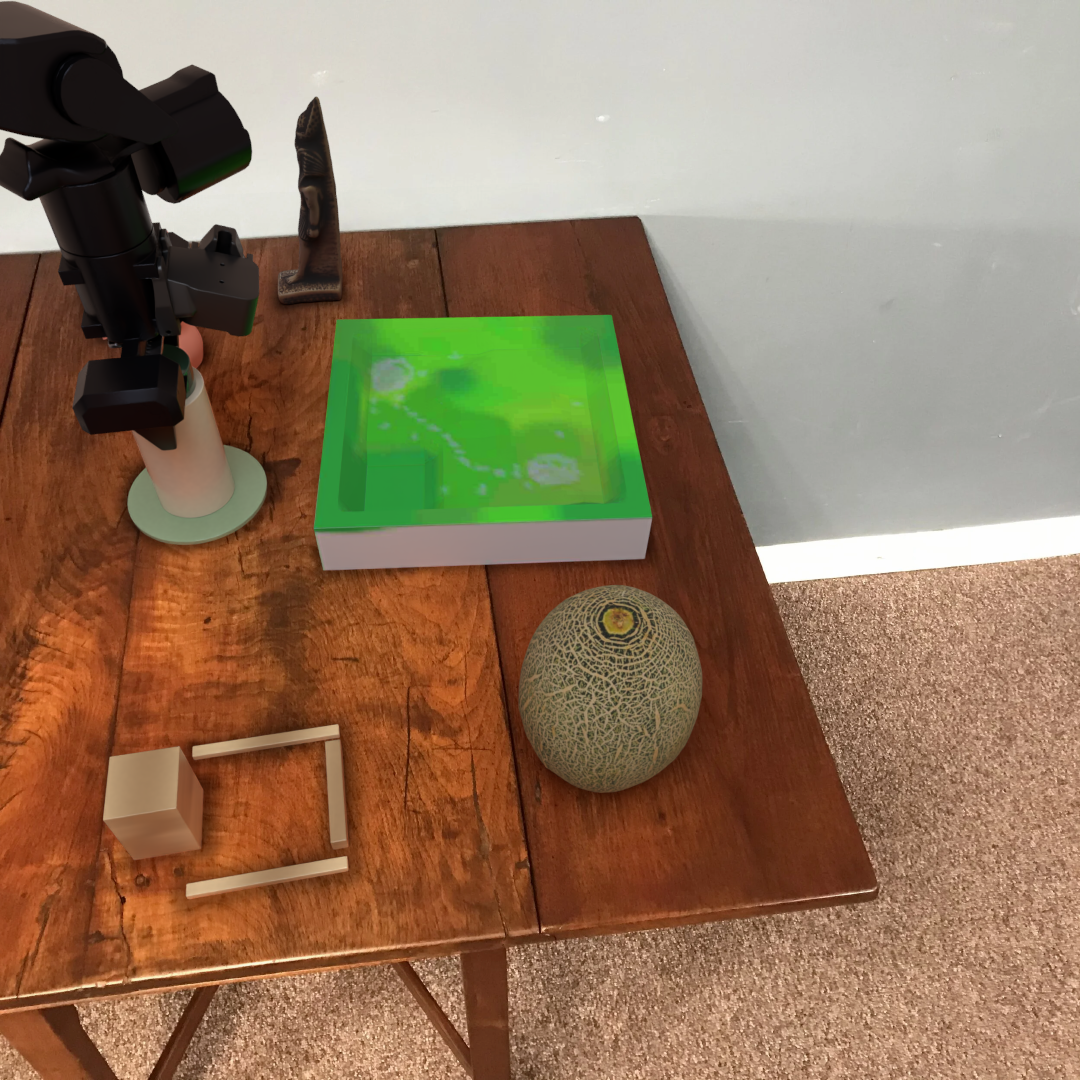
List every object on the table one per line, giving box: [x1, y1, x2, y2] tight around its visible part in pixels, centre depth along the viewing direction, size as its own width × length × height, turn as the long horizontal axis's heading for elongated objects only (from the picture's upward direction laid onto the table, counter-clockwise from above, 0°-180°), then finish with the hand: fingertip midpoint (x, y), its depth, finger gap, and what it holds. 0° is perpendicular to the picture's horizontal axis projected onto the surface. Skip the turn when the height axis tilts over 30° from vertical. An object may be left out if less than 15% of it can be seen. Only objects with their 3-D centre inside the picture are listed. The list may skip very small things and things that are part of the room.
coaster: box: [126, 444, 268, 546], centre depth 77 cm, size 11×11×1 cm
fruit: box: [518, 584, 703, 794], centre depth 58 cm, size 11×11×15 cm
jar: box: [131, 344, 235, 518], centre depth 72 cm, size 13×6×13 cm
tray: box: [313, 314, 653, 571], centre depth 79 cm, size 25×25×5 cm
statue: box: [277, 96, 344, 305], centre depth 88 cm, size 4×7×20 cm, turn 100°
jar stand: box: [102, 723, 350, 900], centre depth 57 cm, size 13×10×6 cm
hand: (172, 418), depth 70 cm, fingers open, 6 cm apart
